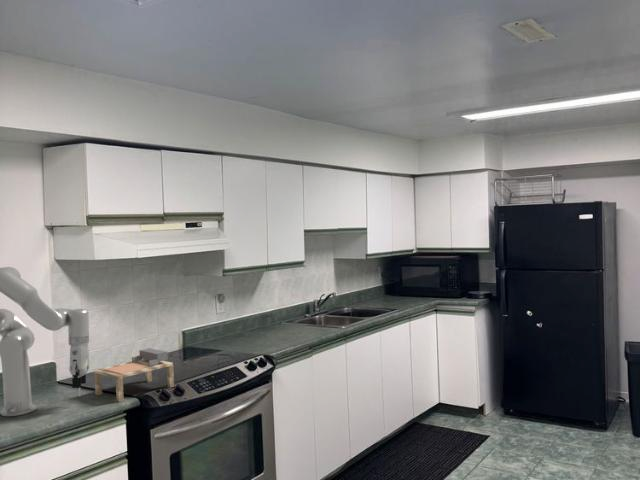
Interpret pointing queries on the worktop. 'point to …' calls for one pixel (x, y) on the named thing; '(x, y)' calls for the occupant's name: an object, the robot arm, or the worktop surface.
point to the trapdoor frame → (120, 377)
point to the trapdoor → (144, 354)
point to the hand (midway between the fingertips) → (79, 385)
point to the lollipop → (81, 373)
